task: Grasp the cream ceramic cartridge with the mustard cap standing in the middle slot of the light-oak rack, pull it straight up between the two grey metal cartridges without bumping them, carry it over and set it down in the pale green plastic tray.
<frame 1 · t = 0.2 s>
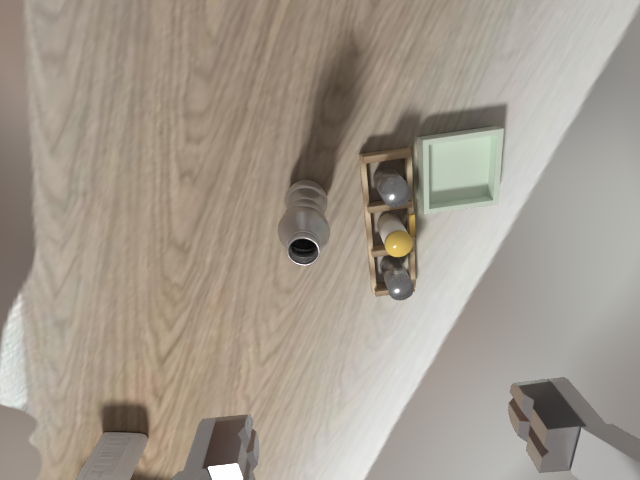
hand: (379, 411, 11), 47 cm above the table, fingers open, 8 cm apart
plastic bottle: (306, 195, 58), on the table
rack: (388, 224, 60), on the table
canister b: (391, 265, 63), resting in rack
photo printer: (126, 436, 81), on the table
tray: (454, 168, 56), on the table
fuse: (393, 234, 56), in the rack
canister a: (385, 178, 57), resting in rack
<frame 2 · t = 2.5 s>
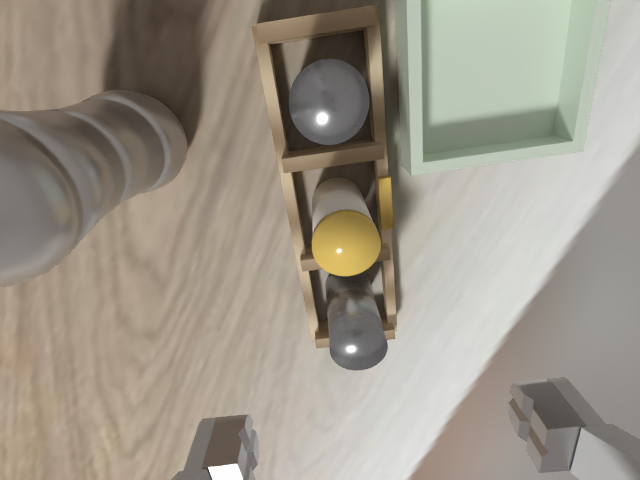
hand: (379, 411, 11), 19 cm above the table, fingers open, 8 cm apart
plastic bottle: (149, 135, 26), on the table
rack: (337, 201, 28), on the table
canister b: (347, 285, 32), resting in rack
tray: (482, 70, 24), on the table
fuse: (341, 220, 25), in the rack
canister a: (323, 94, 25), resting in rack
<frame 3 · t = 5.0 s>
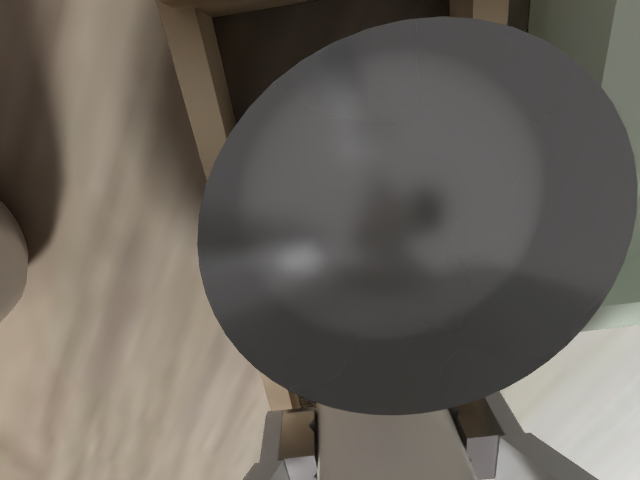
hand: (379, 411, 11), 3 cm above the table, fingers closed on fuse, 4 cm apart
rack: (366, 344, 14), on the table
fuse: (385, 438, 10), in the rack, touching gripper
canister a: (344, 136, 11), resting in rack
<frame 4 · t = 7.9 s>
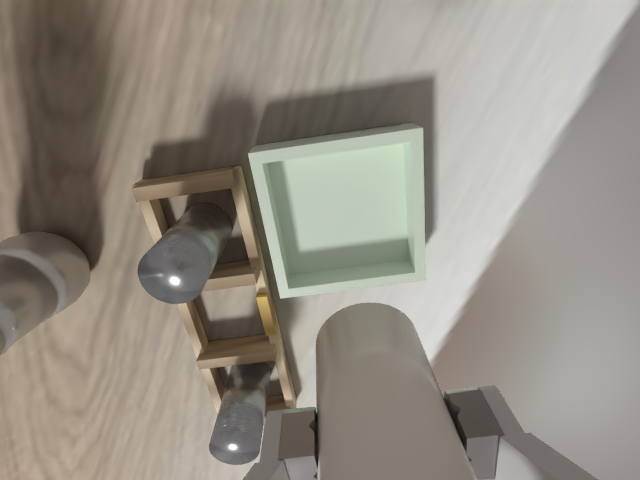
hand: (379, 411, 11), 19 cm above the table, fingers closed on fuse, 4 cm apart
plastic bottle: (61, 257, 30), on the table
rack: (231, 307, 32), on the table
canister b: (250, 372, 35), resting in rack
tray: (341, 208, 28), on the table
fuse: (385, 439, 10), point 20 cm above the table, touching gripper
canister a: (207, 226, 29), resting in rack
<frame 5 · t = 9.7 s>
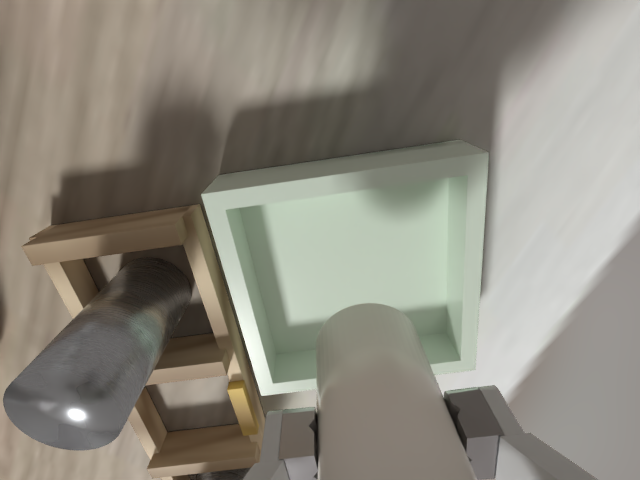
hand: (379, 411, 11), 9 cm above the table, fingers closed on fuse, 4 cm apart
rack: (196, 391, 23), on the table
canister b: (227, 466, 27), resting in rack
tray: (350, 263, 19), on the table
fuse: (385, 440, 10), point 10 cm above the table, touching gripper
canister a: (154, 289, 20), resting in rack
when the fingers open (6 cm above the table, at t = 11.2 s): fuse drops 2 cm, resting on tray.
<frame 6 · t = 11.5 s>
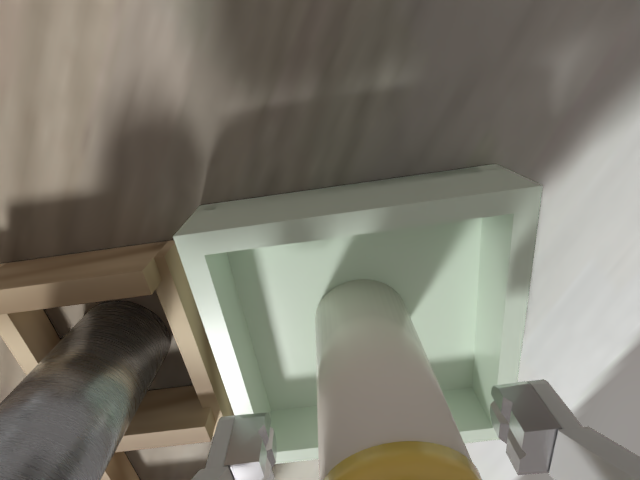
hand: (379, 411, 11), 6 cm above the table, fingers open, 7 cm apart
rack: (178, 447, 20), on the table
tray: (359, 307, 16), on the table
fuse: (376, 392, 12), in the tray, point 5 cm above the table
canister a: (126, 336, 17), resting in rack
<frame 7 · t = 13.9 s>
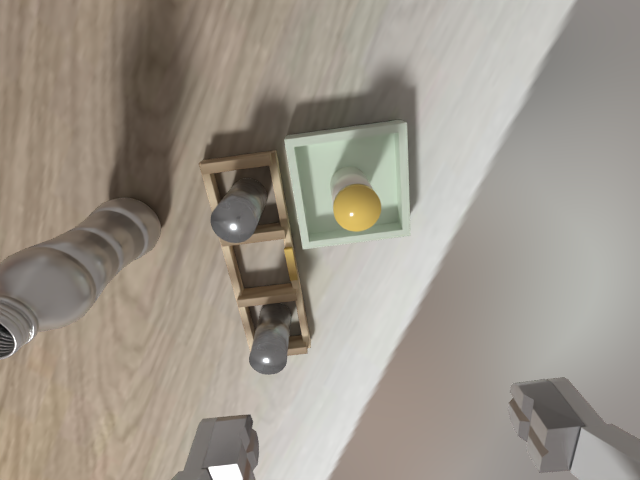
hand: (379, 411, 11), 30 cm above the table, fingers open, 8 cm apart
plastic bottle: (137, 219, 40), on the table
rack: (263, 260, 42), on the table
canister b: (275, 315, 45), resting in rack
tray: (348, 182, 38), on the table
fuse: (352, 195, 34), in the tray, point 5 cm above the table
canister a: (248, 196, 39), resting in rack
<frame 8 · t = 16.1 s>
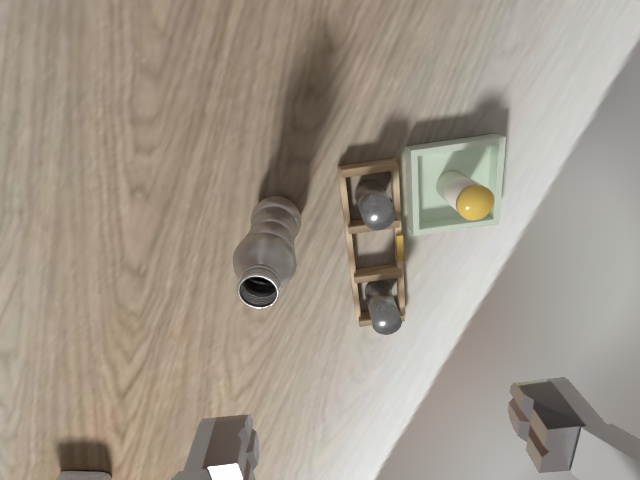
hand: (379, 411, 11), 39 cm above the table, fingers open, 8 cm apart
plastic bottle: (278, 213, 50), on the table
rack: (373, 245, 52), on the table
canister b: (377, 290, 56), resting in rack
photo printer: (87, 474, 73), on the table
tray: (448, 182, 48), on the table
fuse: (462, 193, 44), in the tray, point 5 cm above the table
canister a: (369, 194, 49), resting in rack
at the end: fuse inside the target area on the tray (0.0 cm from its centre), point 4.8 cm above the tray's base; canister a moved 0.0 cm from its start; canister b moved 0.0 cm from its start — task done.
